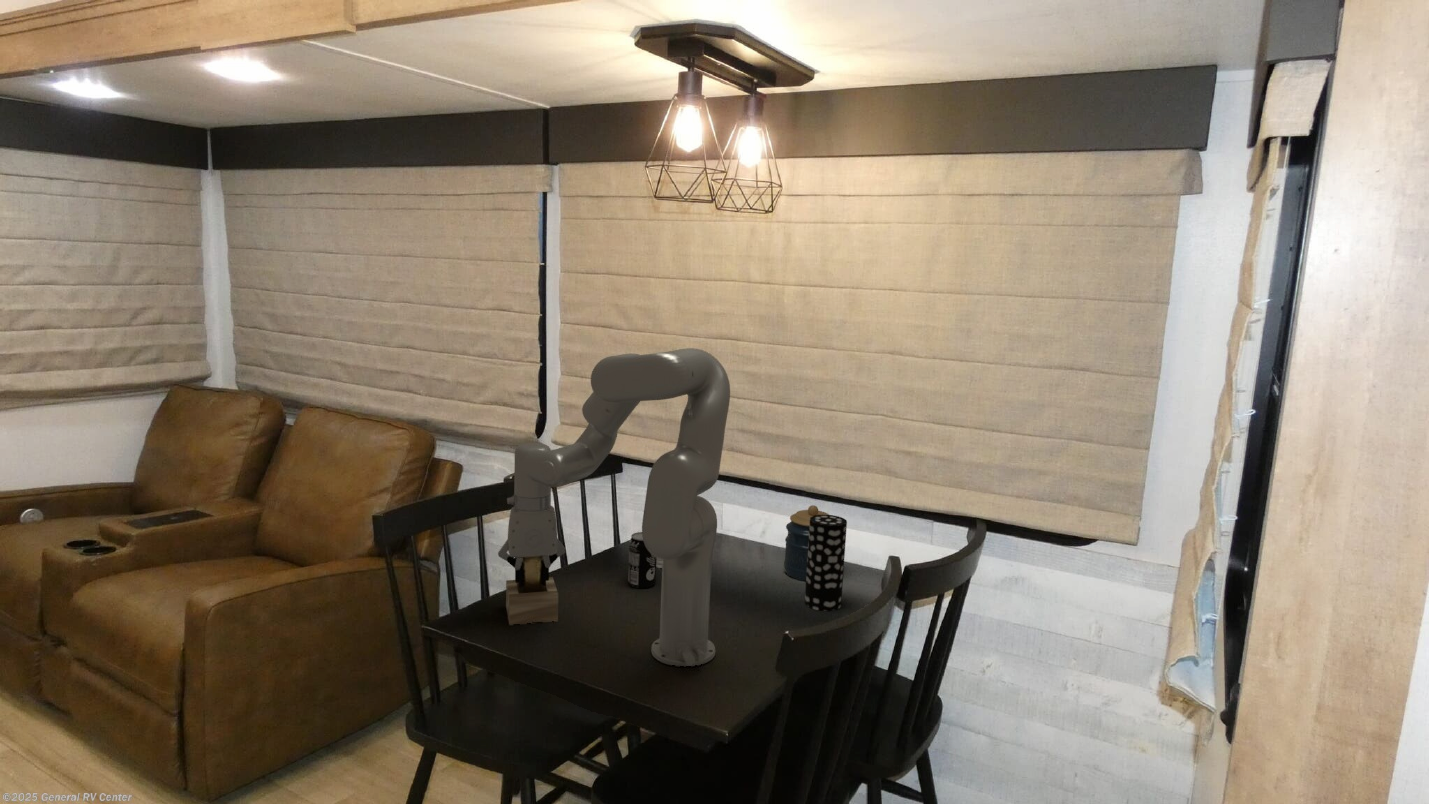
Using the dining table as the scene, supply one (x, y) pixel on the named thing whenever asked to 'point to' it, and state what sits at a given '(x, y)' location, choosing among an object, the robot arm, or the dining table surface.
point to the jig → (531, 603)
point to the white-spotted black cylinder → (825, 562)
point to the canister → (798, 542)
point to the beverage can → (641, 563)
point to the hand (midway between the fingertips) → (532, 583)
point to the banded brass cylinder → (532, 574)
